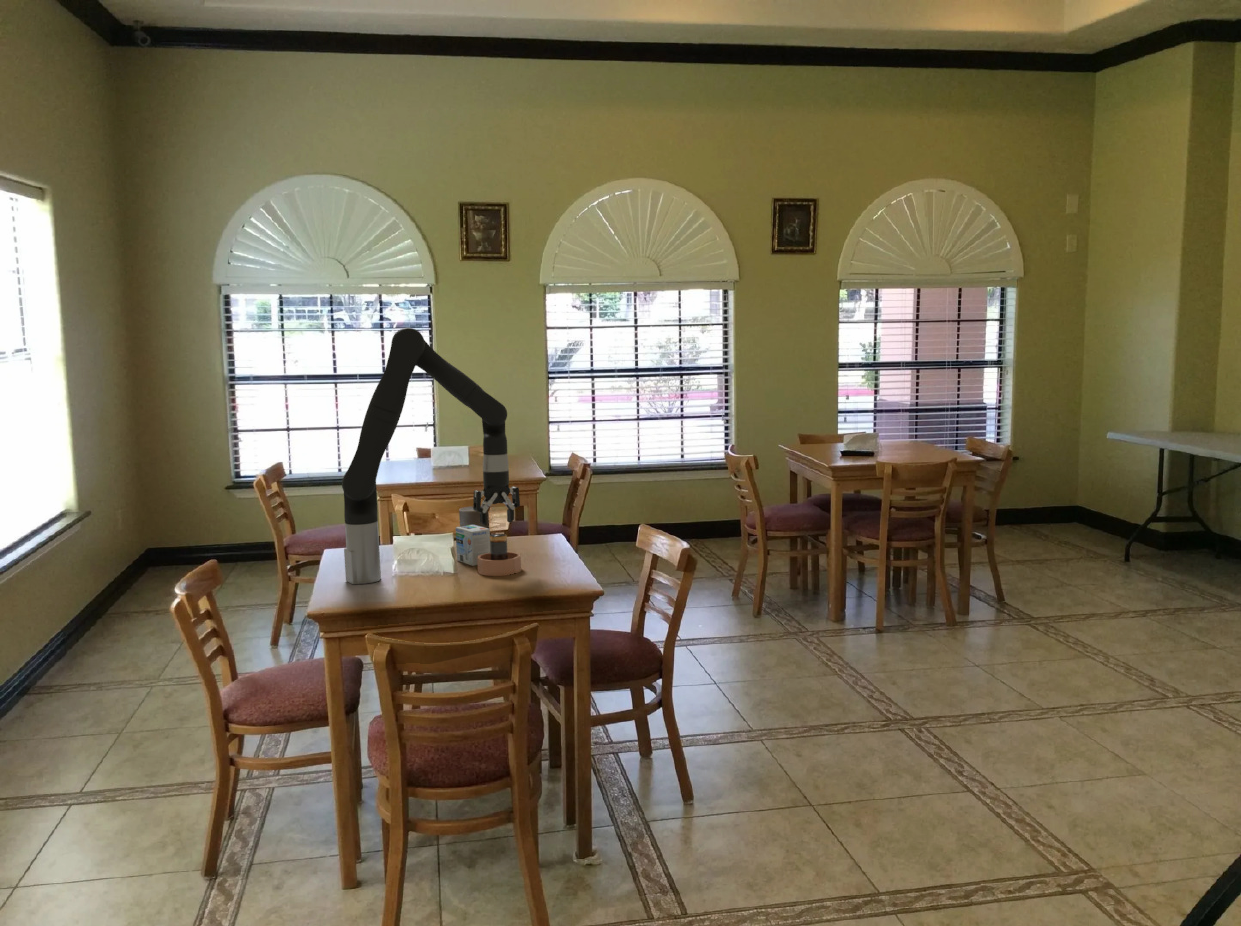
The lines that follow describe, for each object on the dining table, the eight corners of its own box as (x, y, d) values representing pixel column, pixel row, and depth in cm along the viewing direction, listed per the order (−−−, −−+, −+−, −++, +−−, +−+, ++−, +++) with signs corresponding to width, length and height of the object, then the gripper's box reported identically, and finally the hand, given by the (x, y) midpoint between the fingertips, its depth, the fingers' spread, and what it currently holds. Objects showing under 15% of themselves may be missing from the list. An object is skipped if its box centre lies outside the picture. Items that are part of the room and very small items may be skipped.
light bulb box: (456, 560, 318) (454, 526, 316) (475, 557, 322) (473, 524, 320) (472, 566, 309) (471, 531, 308) (492, 562, 313) (490, 528, 312)
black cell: (495, 571, 298) (494, 537, 297) (488, 568, 302) (486, 535, 301) (511, 568, 301) (509, 535, 300) (503, 565, 305) (501, 532, 304)
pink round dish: (490, 577, 293) (489, 562, 292) (470, 570, 303) (470, 555, 303) (528, 571, 300) (528, 556, 299) (508, 564, 310) (507, 549, 310)
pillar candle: (495, 546, 338) (493, 502, 336) (482, 552, 328) (480, 507, 327) (468, 546, 340) (466, 502, 339) (455, 551, 331) (453, 506, 330)
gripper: (479, 472, 291) (481, 528, 293) (523, 468, 299) (524, 522, 301) (468, 470, 297) (469, 524, 299) (511, 466, 305) (512, 519, 307)
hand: (497, 523), depth 300 cm, fingers open, 8 cm apart
